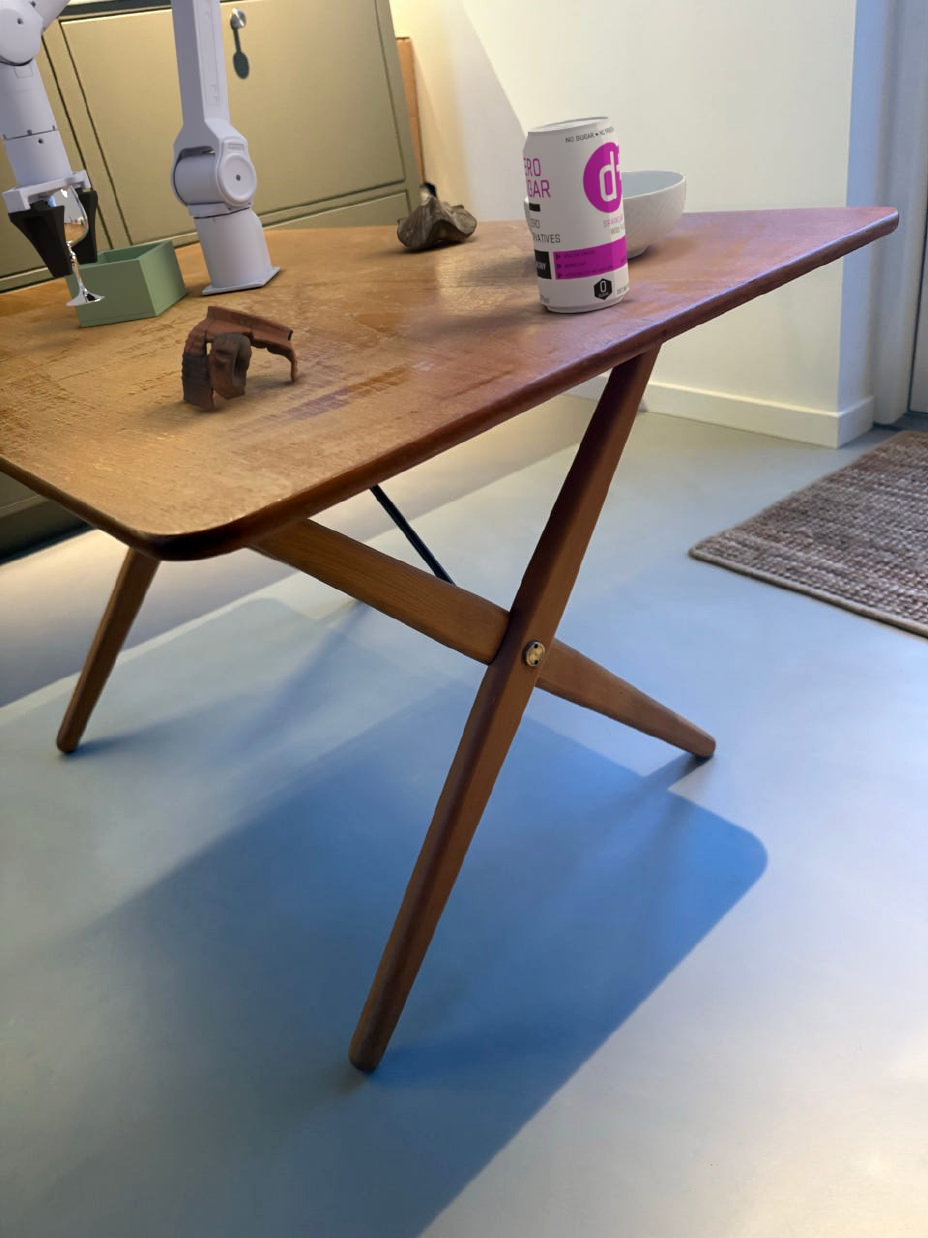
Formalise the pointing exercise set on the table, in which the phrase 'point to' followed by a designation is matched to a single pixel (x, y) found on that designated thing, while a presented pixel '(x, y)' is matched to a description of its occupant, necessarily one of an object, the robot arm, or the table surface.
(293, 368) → the reddish-brown arched part
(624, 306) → the table surface
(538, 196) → the supplement can
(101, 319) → the bin
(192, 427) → the table surface
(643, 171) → the cereal bowl
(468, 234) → the fossilized seashell
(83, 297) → the wineglass
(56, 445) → the table surface
